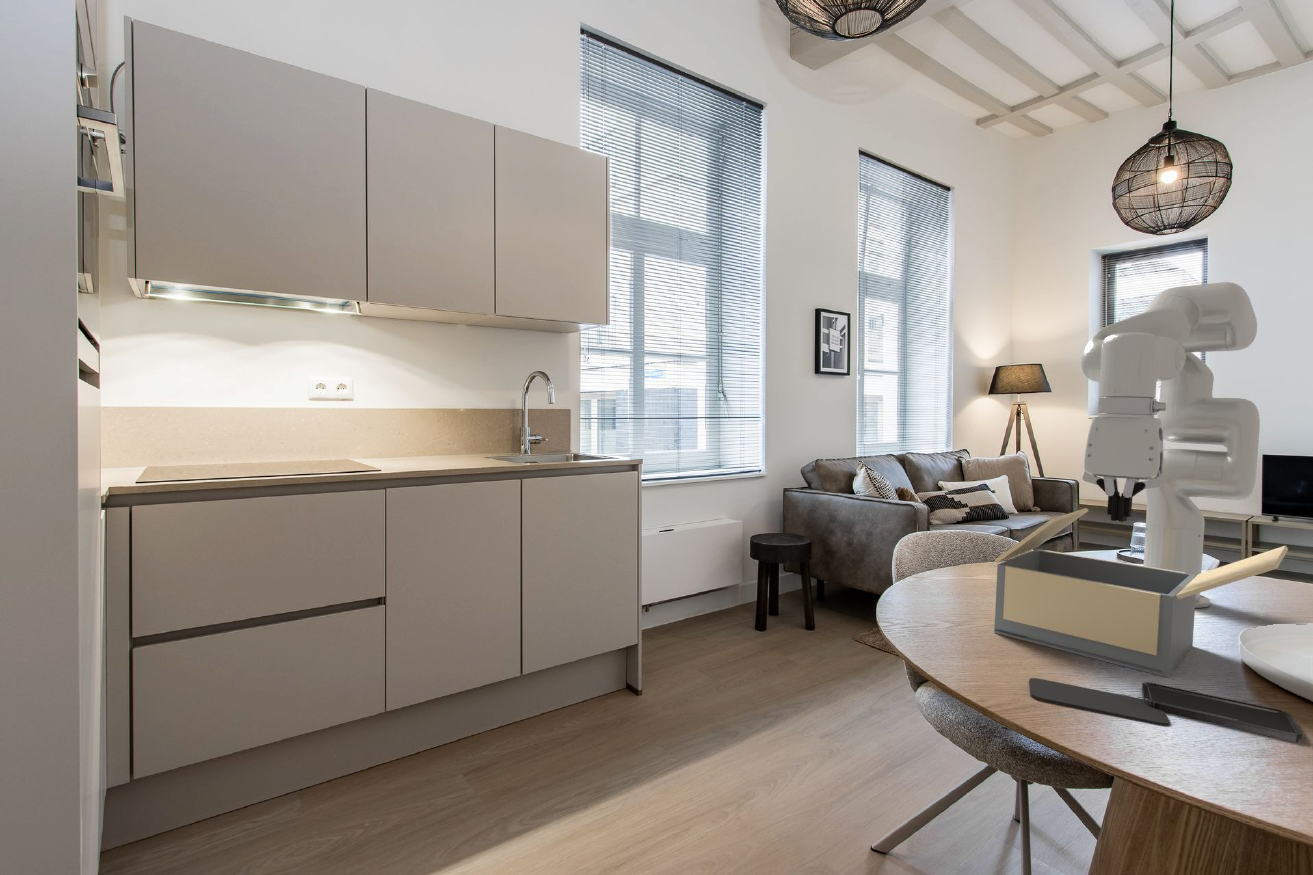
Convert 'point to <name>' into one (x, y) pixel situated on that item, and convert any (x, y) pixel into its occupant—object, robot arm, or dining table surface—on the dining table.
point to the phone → (1096, 701)
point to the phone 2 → (1222, 711)
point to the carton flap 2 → (1234, 572)
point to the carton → (1097, 609)
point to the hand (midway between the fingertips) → (1118, 520)
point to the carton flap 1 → (1042, 534)
